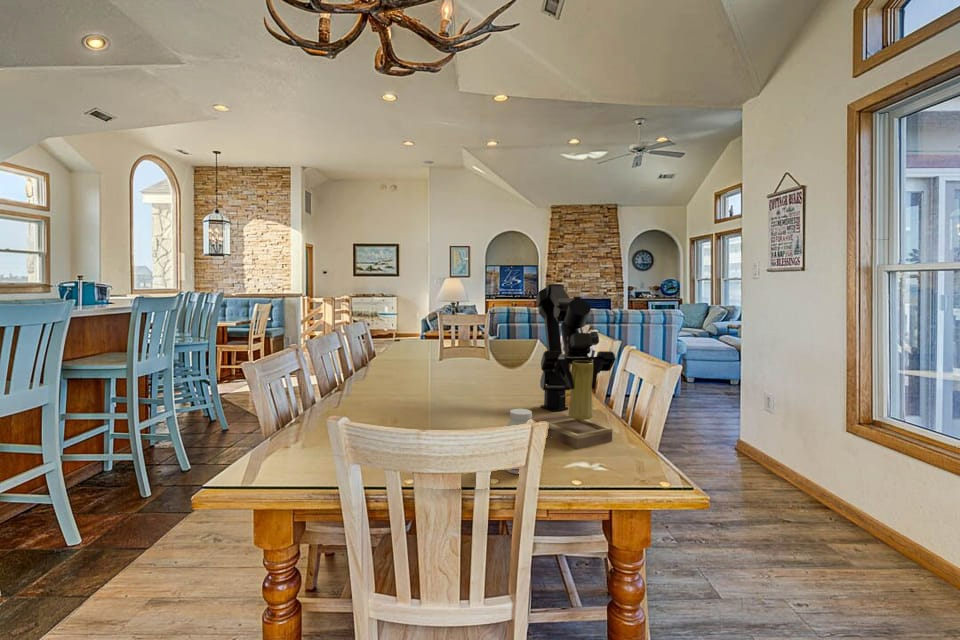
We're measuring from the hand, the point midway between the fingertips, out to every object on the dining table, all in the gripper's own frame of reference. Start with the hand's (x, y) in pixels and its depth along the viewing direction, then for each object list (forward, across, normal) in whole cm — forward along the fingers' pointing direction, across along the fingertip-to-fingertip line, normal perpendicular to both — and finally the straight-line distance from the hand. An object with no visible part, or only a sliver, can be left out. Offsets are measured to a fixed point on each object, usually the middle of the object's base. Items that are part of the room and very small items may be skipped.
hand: (583, 388), depth 132 cm
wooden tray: (+6, -2, +13) cm, 14 cm away
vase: (+5, 0, +6) cm, 8 cm away
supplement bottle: (+23, -19, -4) cm, 30 cm away
